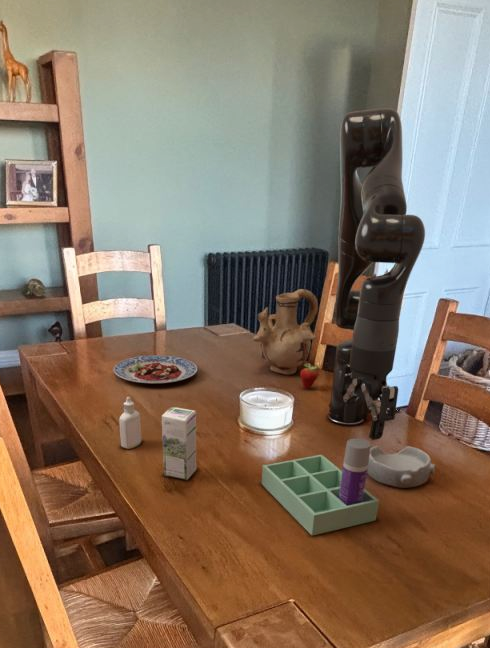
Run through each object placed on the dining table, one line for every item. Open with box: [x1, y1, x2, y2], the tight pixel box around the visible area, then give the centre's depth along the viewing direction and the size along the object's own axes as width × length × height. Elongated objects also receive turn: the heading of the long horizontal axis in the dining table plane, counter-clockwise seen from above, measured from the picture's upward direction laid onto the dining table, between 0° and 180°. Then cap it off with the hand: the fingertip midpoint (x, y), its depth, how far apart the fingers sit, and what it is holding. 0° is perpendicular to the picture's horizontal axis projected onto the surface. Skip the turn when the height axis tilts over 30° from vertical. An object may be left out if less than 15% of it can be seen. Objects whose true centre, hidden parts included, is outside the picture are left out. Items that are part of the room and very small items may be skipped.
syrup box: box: [161, 406, 198, 481], centre depth 132 cm, size 6×6×14 cm
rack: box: [261, 454, 380, 536], centre depth 126 cm, size 15×22×5 cm
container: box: [339, 437, 372, 506], centre depth 119 cm, size 5×5×15 cm
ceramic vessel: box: [252, 288, 319, 376], centre depth 191 cm, size 18×19×25 cm
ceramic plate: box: [113, 354, 198, 385], centre depth 190 cm, size 26×26×3 cm
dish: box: [367, 445, 436, 489], centre depth 137 cm, size 14×14×5 cm
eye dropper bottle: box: [118, 396, 143, 450], centre depth 144 cm, size 4×6×12 cm
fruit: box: [300, 362, 319, 390], centre depth 182 cm, size 5×5×8 cm
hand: (361, 429), depth 113 cm, fingers open, 8 cm apart
